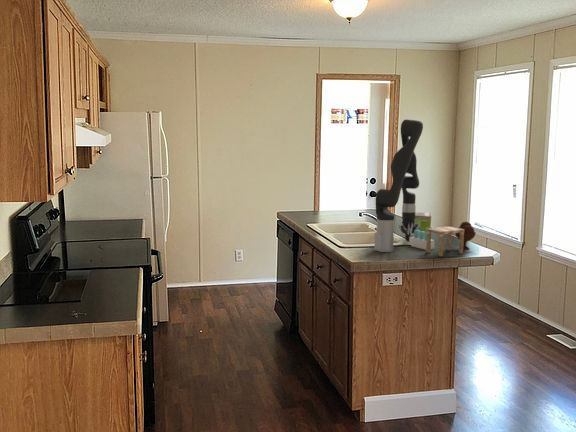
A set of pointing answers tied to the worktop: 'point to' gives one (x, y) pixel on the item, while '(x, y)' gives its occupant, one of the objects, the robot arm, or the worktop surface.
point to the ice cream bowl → (466, 233)
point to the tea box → (422, 221)
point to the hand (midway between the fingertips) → (407, 240)
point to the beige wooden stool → (443, 231)
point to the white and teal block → (420, 240)
